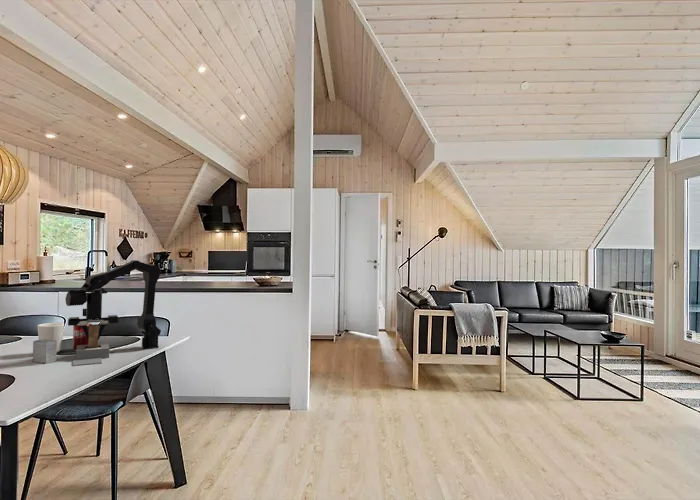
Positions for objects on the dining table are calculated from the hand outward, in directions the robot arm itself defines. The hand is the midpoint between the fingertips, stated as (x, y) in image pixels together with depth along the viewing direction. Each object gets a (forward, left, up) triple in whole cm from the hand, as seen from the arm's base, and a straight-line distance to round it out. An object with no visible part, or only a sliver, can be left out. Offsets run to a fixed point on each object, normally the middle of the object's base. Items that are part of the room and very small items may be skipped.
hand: (93, 339), depth 187 cm
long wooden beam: (0, 0, -4) cm, 4 cm away
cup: (+16, -14, -7) cm, 23 cm away
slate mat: (+2, +11, -7) cm, 13 cm away
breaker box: (0, 0, -7) cm, 7 cm away
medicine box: (+17, +2, -7) cm, 19 cm away
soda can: (+4, -16, -7) cm, 18 cm away
